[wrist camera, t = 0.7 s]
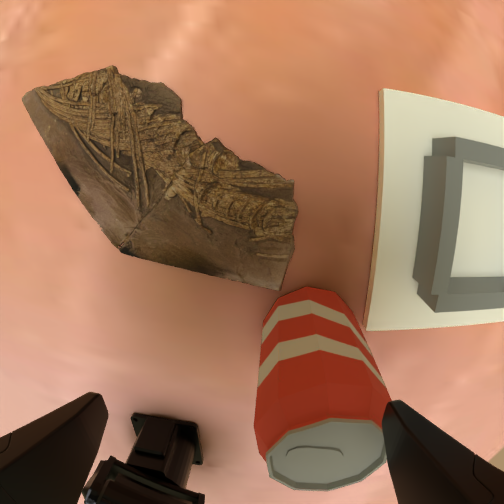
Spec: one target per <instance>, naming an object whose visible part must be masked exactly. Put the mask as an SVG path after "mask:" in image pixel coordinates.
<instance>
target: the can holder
mask: <svg viewBox="0 0 504 504" xmlns="http://www.w3.org/2000/svg"><path fill="white" fill-rule="evenodd" d="M501 321H504V117H503V116H500V115H497V114H494V113H490V112H487V111H484V110H481V109H477V108H474V107H470V106H466V105H463V104H459V103H455V102H451V101H447V100H443V99H438V98H434V97H429V96H425V95H420V94H415V93H409V92H404V91H398V90H392V89H386V88H383V89H381V90H380V91H379V173H378V194H377V209H376V222H375V234H374V244H373V253H372V262H371V271H370V278H369V286H368V293H367V300H366V306H365V313H364V319H363V326H364V328H365V330H366V331H384V330H407V329H424V328H439V327H452V326H463V325H474V324H484V323H493V322H501Z"/></svg>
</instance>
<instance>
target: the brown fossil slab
mask: <svg viewBox="0 0 504 504" xmlns="http://www.w3.org/2000/svg"><path fill="white" fill-rule="evenodd" d="M22 101H23V104H24V105H25V107H26V109H27V111H28V113H29V115H30V117H31V119H32V121H33V123H34V124H35V126H36V128H37V130H38V131H39V133H40V135H41V137H42V138H43V140H44V142H45V144H46V145H47V147H48V148H49V150H50V152H51V154H52V156H53V157H54V159H55V161H56V163H57V165H58V166H59V168H60V170H61V172H62V173H63V175H64V176H65V178H66V179H67V181H68V182H69V184H70V186H71V187H72V189H73V191H74V192H75V194H76V195H77V196H78V198H79V199H80V201H81V202H82V204H83V205H84V206H85V208H86V209H87V210H88V212H89V213H90V214H91V216H92V218H93V219H94V220H95V221H97V223H98V224H100V227H101V228H102V231H103V232H104V233H105V235H106V236H107V237H108V239H109V240H110V241H111V243H112V244H113V245H114V246H115V247H117V248H118V246H120V244H122V242H124V245H123V246H120V247H121V248H120V249H119V248H118V249H119V250H120V252H121V253H124V254H127V255H131V256H132V257H133V256H135V257H137V258H141V259H145V260H150V261H154V262H158V263H161V264H165V265H170V266H175V267H179V268H183V269H187V270H191V271H195V272H200V273H204V274H208V275H211V276H217V277H220V278H228V279H231V280H232V281H240V282H242V283H249V284H251V285H255V286H259V287H265V288H267V289H273V290H277V291H280V290H281V287H282V283H283V280H284V276H285V274H286V270H287V267H288V264H289V262H290V260H291V258H292V255H293V252H294V237H293V235H292V232H293V227H294V221H295V219H296V216H297V214H298V207H297V205H296V203H295V202H294V200H293V189H294V180H288V181H286V180H285V179H284V178H282V177H281V176H280V175H279V174H274V173H272V172H268V171H266V169H264V168H263V167H262V166H260V165H258V164H256V163H255V162H254V163H253V162H250V161H242V160H240V159H239V158H238V156H234V154H233V152H232V151H230V150H228V149H227V148H226V147H224V146H223V145H222V143H221V142H220V141H219V140H218V139H217V138H214V139H213V140H212V141H210V142H208V143H206V144H204V143H203V142H202V140H201V138H200V137H199V136H198V135H197V133H196V132H195V131H194V129H193V127H192V126H191V125H190V124H188V123H187V122H186V121H185V120H183V119H182V117H183V115H182V107H181V100H180V98H179V97H178V96H177V95H176V94H175V93H174V92H173V91H172V90H171V89H169V88H168V87H166V86H165V85H164V84H163V83H161V82H160V83H150V82H148V81H146V80H138V79H135V78H133V79H130V78H129V77H128V76H124V75H121V74H118V71H117V68H116V67H115V66H113V65H112V66H109V67H107V68H105V69H101V70H98V71H93V72H87V73H83V74H81V75H78V76H77V77H75V78H72V79H67V80H63V81H60V82H57V83H56V84H53V85H49V86H48V87H45V86H41V87H37V88H34V89H33V90H32V91H29V92H27V93H26V94H25V95H24V97H23V98H22Z"/></svg>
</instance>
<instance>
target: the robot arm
mask: <svg viewBox="0 0 504 504" xmlns="http://www.w3.org/2000/svg"><path fill="white" fill-rule="evenodd" d="M107 420H108V410H107V408H106V405H105V402H104V400H103V397H102V395H101V394H99V393H94V392H88V393H86V394H84V395H83V396H81V397H79V398H77V399H75V400H73V401H71V402H69V403H68V404H66V405H64V406H62V407H60V408H58V409H56V410H54V411H52V412H50V413H48V414H46V415H45V416H43V417H41V418H39V419H37V420H35V421H33V422H31V423H29V424H27V425H25V426H23V427H21V428H19V429H17V430H15V431H13V432H12V433H9V434H7V435H5V436H2V437H0V504H77V502H78V500H79V497H80V495H81V492H82V494H83V496H84V499H85V501H84V504H204V502H205V495H204V494H201V493H196V492H193V491H190V490H187V489H186V485H187V481H188V478H189V474H190V470H191V466H192V464H195V465H202V464H203V455H202V449H201V443H200V437H199V431H198V426H197V425H196V424H195V423H192V422H184V421H177V420H170V419H164V418H158V417H152V416H146V415H141V414H135V413H134V414H132V416H131V421H132V424H133V427H134V430H135V433H136V436H137V439H136V441H135V443H134V446H133V448H132V450H131V452H130V454H129V456H128V459H127V461H126V463H123V462H121V461H119V460H117V459H116V458H115V457H113V456H110V457H109V459H108V461H103V460H101V461H100V463H99V465H98V467H97V469H96V470H95V472H94V474H93V475H92V477H91V478H90V479H89V481H88V482H87V484H86V485H85V482H86V480H87V477H88V475H89V472H90V470H91V468H92V465H93V463H94V460H95V458H96V455H97V453H98V450H99V447H100V443H101V440H102V436H103V433H104V430H105V426H106V423H107ZM382 431H383V437H384V443H385V449H386V456H387V462H388V467H389V471H390V475H391V478H392V482H393V485H394V489H395V493H396V496H397V500H398V504H504V472H503V471H501V470H500V469H498V468H496V467H495V466H493V465H491V464H490V463H488V462H487V461H485V460H484V459H482V458H481V457H479V456H478V455H477V454H475V453H474V452H472V451H471V450H469V449H468V448H466V447H465V446H464V445H462V444H461V443H459V442H458V441H457V440H455V439H454V438H452V437H451V436H450V435H448V434H447V433H445V432H444V431H443V430H441V429H440V428H438V427H437V426H436V425H434V424H433V423H432V422H430V421H429V420H427V419H426V418H425V417H423V416H422V415H421V414H419V413H418V412H416V411H415V410H414V409H412V408H411V407H410V406H408V405H407V404H406V403H404V402H403V401H401V400H394V401H389V402H388V403H387V405H386V408H385V411H384V415H383V418H382ZM84 485H85V486H84ZM83 487H84V488H83Z"/></svg>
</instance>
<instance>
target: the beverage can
mask: <svg viewBox="0 0 504 504" xmlns="http://www.w3.org/2000/svg"><path fill="white" fill-rule="evenodd" d="M389 401H392V400H391V398H390V396H389V393H388V391H387V388H386V386H385V384H384V381H383V379H382V376H381V374H380V372H379V369H378V367H377V365H376V363H375V360H374V358H373V356H372V353H371V351H370V349H369V347H368V344H367V342H366V340H365V338H364V336H363V333H362V331H361V329H360V327H359V325H358V322H357V320H356V318H355V316H354V314H353V312H352V310H351V309H350V308H349V307H348V306H347V305H346V304H345V303H344V301H343V300H342V299H341V298H340V297H339V296H338V295H337V294H336V292H333V291H328V290H322V289H317V288H311V287H304V288H301V289H299V290H296V291H294V292H292V293H289V294H287V295H284V296H282V297H280V298H278V299H277V301H276V302H275V304H274V305H273V307H272V308H271V310H270V312H269V313H268V315H267V316H266V318H265V319H264V321H263V331H262V342H261V354H260V365H259V376H258V387H257V398H256V408H255V419H254V430H255V435H256V440H257V445H258V449H259V453H260V455H261V456H262V457H263V459H264V460H265V461H266V462H267V467H268V472H269V477H270V478H272V479H274V480H276V481H278V482H280V483H282V484H283V485H285V486H287V487H289V488H291V489H293V490H306V491H330V490H334V489H338V488H341V487H344V486H348V485H351V484H354V483H357V482H361V481H362V480H364V479H365V478H366V477H368V476H369V475H370V474H372V473H373V472H374V471H376V470H377V469H378V468H379V467H381V466H382V465H383V464H384V463H386V460H387V456H386V449H385V443H384V437H383V431H382V418H383V415H384V411H385V408H386V405H387V403H388V402H389Z"/></svg>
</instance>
